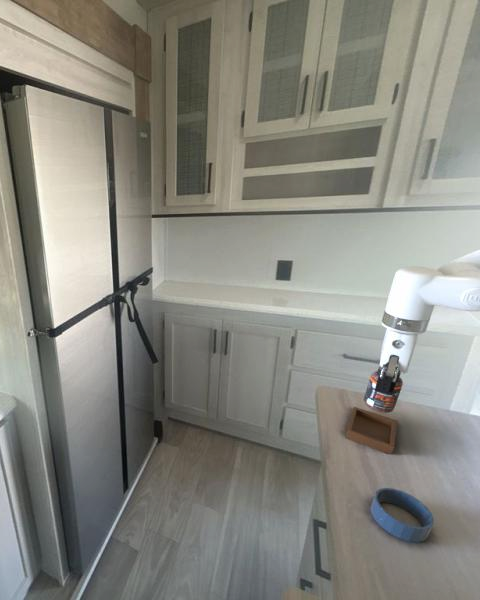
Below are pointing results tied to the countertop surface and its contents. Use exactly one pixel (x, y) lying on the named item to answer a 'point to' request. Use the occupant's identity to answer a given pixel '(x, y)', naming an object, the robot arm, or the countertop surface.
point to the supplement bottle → (382, 394)
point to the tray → (372, 430)
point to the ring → (395, 525)
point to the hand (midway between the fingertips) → (384, 385)
